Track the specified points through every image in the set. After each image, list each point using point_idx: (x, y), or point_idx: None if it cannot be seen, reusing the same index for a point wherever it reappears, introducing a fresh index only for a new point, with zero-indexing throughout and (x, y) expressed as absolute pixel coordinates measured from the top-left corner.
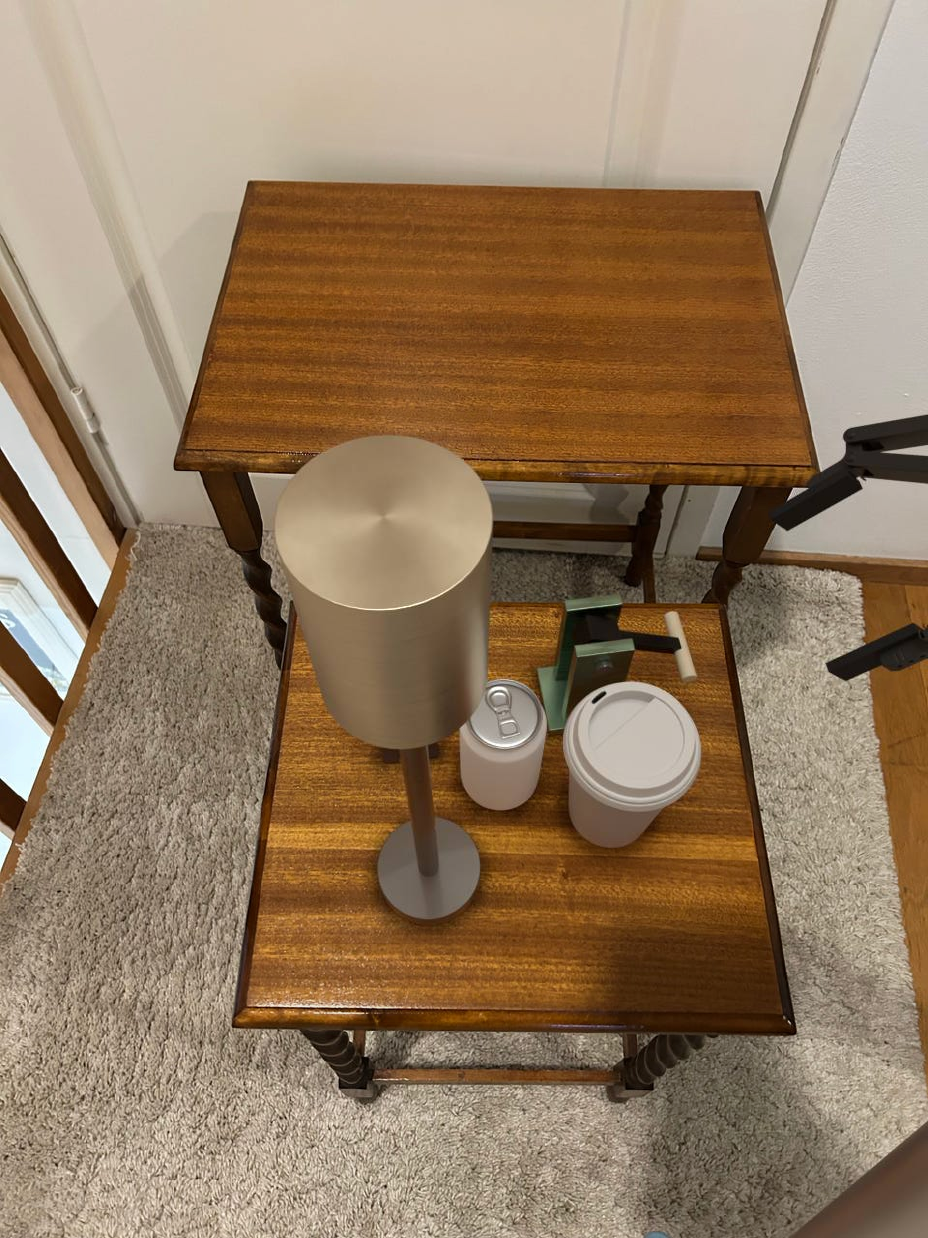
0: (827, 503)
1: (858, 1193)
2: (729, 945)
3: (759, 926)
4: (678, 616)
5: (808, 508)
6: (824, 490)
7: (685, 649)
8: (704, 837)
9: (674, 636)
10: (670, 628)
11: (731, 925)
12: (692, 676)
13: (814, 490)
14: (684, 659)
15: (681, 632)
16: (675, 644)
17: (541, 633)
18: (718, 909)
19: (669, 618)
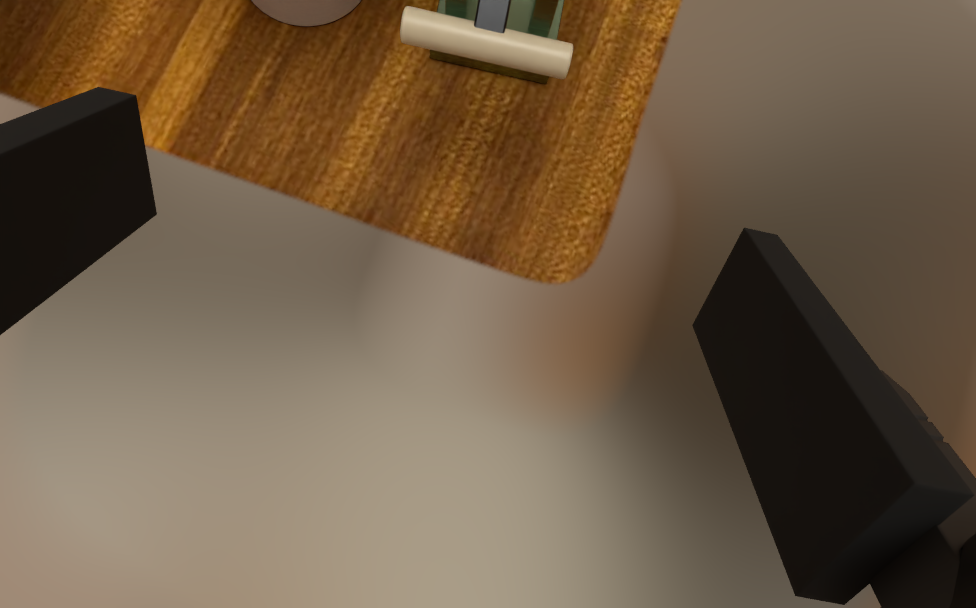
0: (757, 428)
1: None
2: (24, 35)
3: (28, 90)
4: (556, 65)
5: (754, 351)
6: (829, 378)
7: (469, 34)
8: (200, 81)
9: (509, 30)
10: (533, 35)
11: (51, 52)
12: (402, 20)
13: (839, 347)
14: (446, 20)
15: (513, 46)
16: (486, 11)
17: (639, 4)
18: (83, 46)
19: (556, 40)
